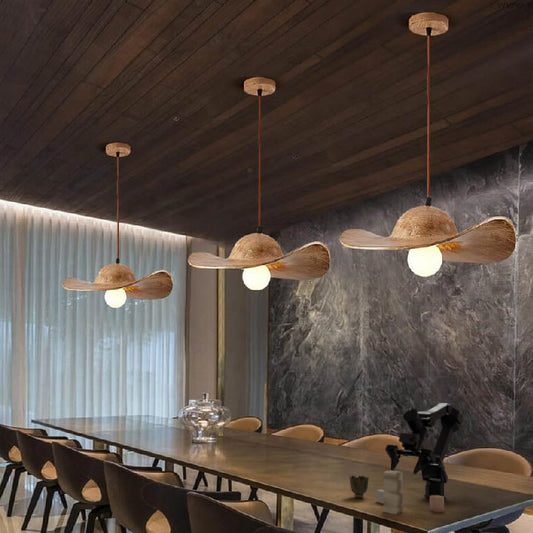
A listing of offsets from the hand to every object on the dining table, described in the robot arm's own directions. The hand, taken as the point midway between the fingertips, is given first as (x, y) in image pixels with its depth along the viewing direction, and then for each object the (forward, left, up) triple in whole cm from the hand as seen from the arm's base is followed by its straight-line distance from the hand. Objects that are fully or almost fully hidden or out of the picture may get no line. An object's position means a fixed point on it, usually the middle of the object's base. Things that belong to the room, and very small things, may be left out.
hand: (402, 472), depth 263 cm
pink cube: (-11, +6, -13) cm, 18 cm away
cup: (+7, -21, -13) cm, 26 cm away
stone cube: (+1, -11, -13) cm, 17 cm away
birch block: (+6, +4, -13) cm, 15 cm away
